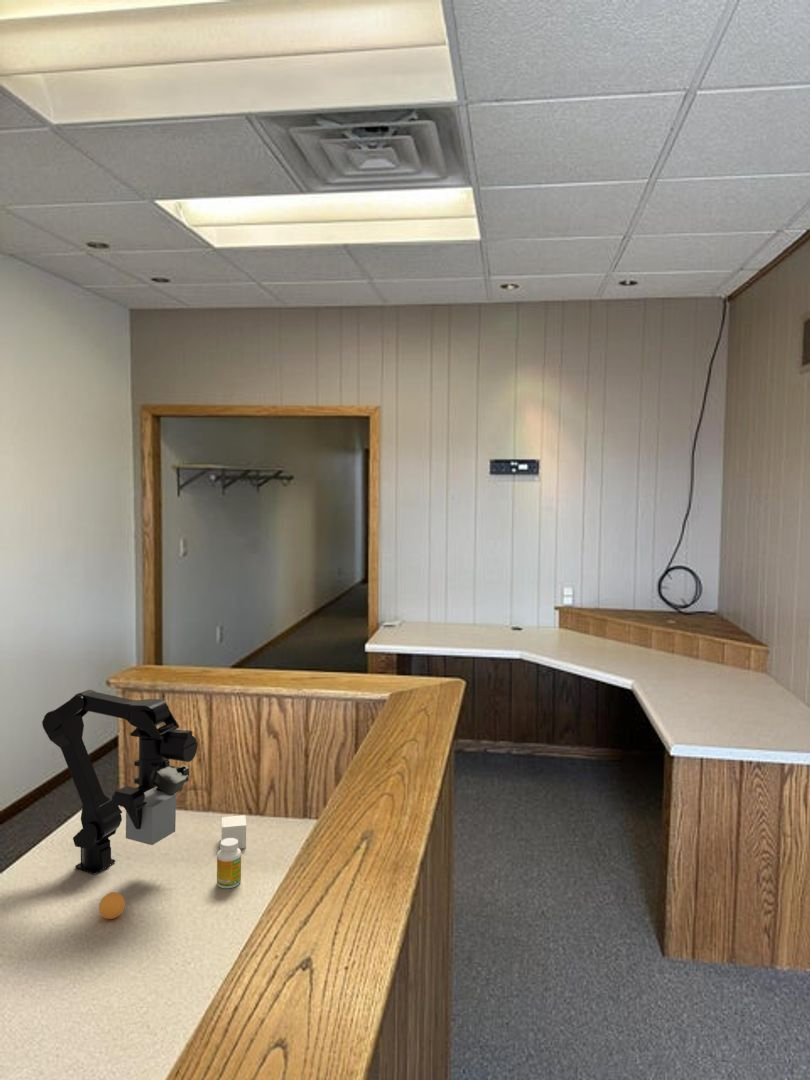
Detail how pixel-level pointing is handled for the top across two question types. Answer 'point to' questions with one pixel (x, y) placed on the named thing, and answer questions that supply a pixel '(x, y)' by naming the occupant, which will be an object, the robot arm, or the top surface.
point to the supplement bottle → (229, 864)
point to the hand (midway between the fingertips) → (150, 821)
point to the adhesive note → (234, 829)
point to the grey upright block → (154, 818)
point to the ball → (111, 905)
